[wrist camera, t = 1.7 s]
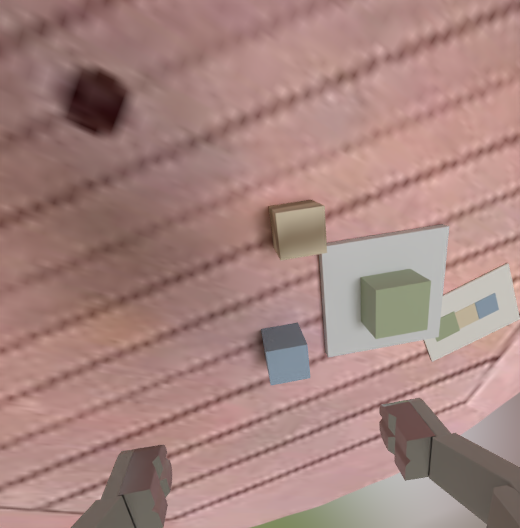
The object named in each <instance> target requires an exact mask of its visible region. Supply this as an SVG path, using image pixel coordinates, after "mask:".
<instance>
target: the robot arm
mask: <svg viewBox="0 0 520 528" xmlns="http://www.w3.org/2000/svg"><path fill="white" fill-rule="evenodd" d="M380 415H381V416H382V419H381V421H380V422H379V423H380V432H381V437H382V439H383V442H384V444H385V446H386V448H387V449H388V451H390V452H391V453H393V454H394V455H395V464H396V465H397V467H398V469H399V471H400V472H401V474H402V476H403V478H404V479H405V480H411V479H417V478H423V477H429V478H430V479H431V480H432V481H434V482H435V483H436V484H437V485H438V486H440V487H441V488H442V489H444V490H445V491H446V492H447V493H449V494H450V495H451V496H452V497H453V498H455V499H456V500H457V501H458V502H460V503H461V504H462V505H464V506H465V507H466V508H467V509H468V510H470V511H471V512H472V513H474V514H475V515H476V516H477V517H479V518H480V519H481V520H482V521H483V522H485V523H486V524H487V527H486V528H520V467H518V466H516V465H514V464H512V463H511V462H509V461H507V460H505V459H503V458H501V457H499V456H497V455H496V454H494V453H492V452H490V451H488V450H486V449H484V448H482V447H481V446H479V445H477V444H475V443H473V442H471V441H469V440H467V439H465V438H464V437H462V436H460V435H458V434H456V433H452V434H451V433H450V431H449V430H448V429H447V428H446V427H445V426H444V424H443V423H442V422H441V421H440V420H439V419H438V417H437V416H436V415H435V414H434V413H433V412H432V410H431V409H430V408H429V407H428V406H427V404H426V403H425V402H424V401H423V400H422V399H420V398H416V399H410V400H406V401H405V400H404V401H399V402H394V403H389V404H383V405H381V406H380ZM166 454H167V450H166V447H165V445H157V446H151V447H144V448H138V449H132V450H126V451H121V453H120V454H119V455H118V457H117V460H116V462H115V465H114V467H113V470H112V472H111V475H110V477H109V480H108V482H107V485H106V487H105V490H104V492H103V495H102V497H101V500H96V501H95V502H94V503H93V504H92V505H91V507H90V508H89V509H88V510H87V511H86V512H85V513H84V514H83V515H82V516H81V517H80V518H79V519H78V520H77V521H76V523H75V524H74V525H73V526H72V527H71V528H163V527H164V522H165V516H166V511H167V506H168V505H167V502H166V499H165V498H166V496H167V495H168V494H169V492H170V490H171V484H172V467H171V463H170V460H168V459H167V458H166Z"/></svg>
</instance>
